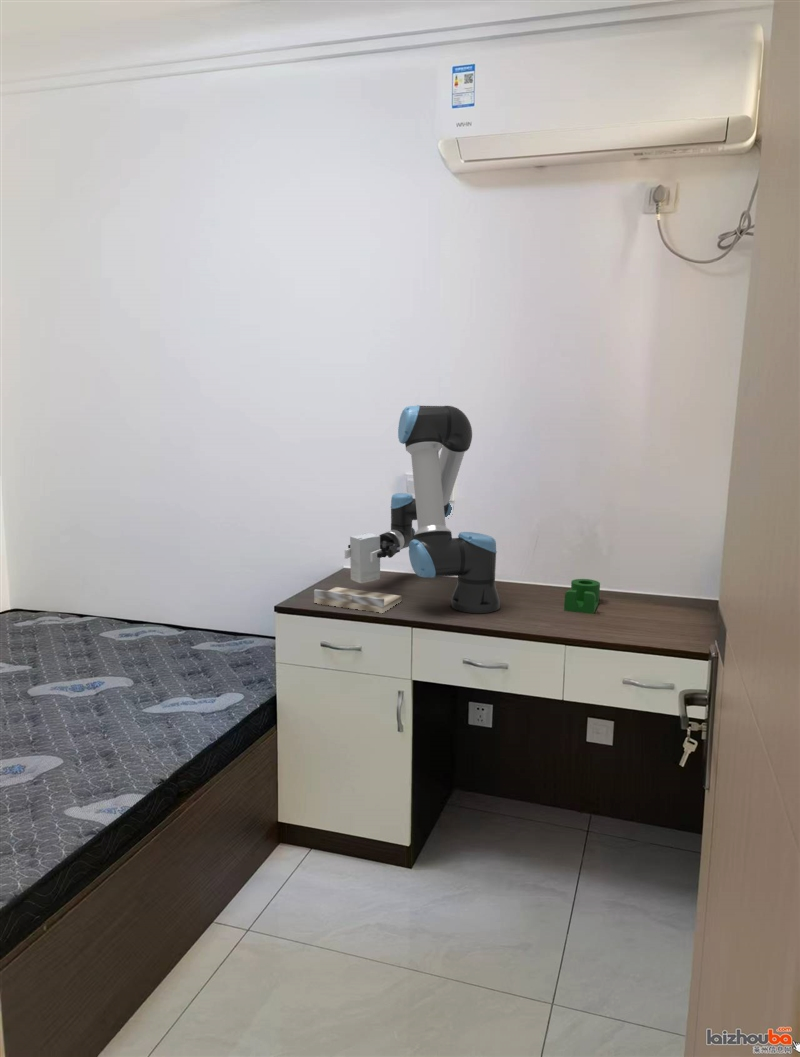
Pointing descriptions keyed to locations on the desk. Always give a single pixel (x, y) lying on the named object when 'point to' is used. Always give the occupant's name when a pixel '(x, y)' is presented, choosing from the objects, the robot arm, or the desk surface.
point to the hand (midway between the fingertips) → (358, 555)
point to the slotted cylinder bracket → (582, 596)
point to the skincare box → (364, 557)
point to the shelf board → (356, 599)
